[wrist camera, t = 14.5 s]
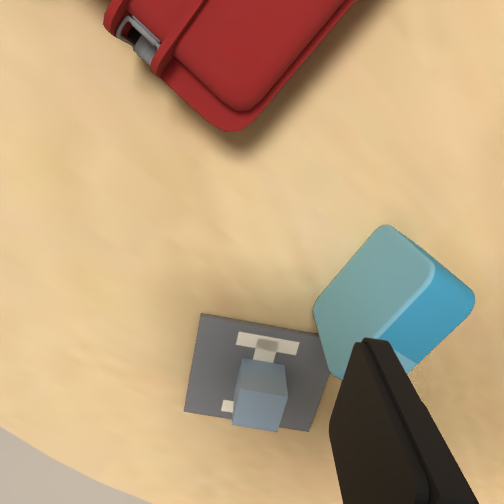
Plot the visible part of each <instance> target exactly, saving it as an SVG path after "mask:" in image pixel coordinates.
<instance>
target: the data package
mask: <svg viewBox="0 0 504 504" xmlns="http://www.w3.org/2000/svg"><path fill="white" fill-rule="evenodd" d="M474 304H475V295H474V293H473V291H472V290H471V289H470V288H469V287H468V286H466V285H465V284H464V283H463V282H462V281H461V280H459V279H458V278H457V277H456V276H455V275H453V274H452V273H451V272H450V271H449V270H447V269H446V268H445V267H444V266H443V265H441V264H440V263H439V262H438V261H437V260H435V259H434V258H433V257H432V256H431V255H429V254H428V253H427V252H426V251H425V250H423V249H422V248H421V247H420V246H418V245H417V244H415V243H414V242H413V241H411V240H410V239H408V238H407V237H406V236H404V235H403V234H401V233H400V232H399V231H397V230H396V229H394V228H393V227H392V226H390V225H383V226H381V227H379V228H378V229H377V230H376V231H374V233H373V234H372V235H371V236H370V237H369V238H368V240H367V241H366V242H365V243H364V244H363V245H362V247H361V248H360V249H359V250H358V251H357V253H356V254H355V255H354V256H353V257H352V258H351V260H350V261H349V262H348V263H347V264H346V265H345V267H344V268H343V269H342V270H341V271H340V273H339V274H338V275H337V276H336V277H335V278H334V280H333V281H332V282H331V283H330V284H329V286H328V287H327V288H326V289H325V290H324V291H323V293H322V294H321V295H320V296H319V297H318V299H317V301H316V302H315V305H314V308H313V315H314V318H315V322H316V326H317V329H318V333H319V336H320V340H321V344H322V347H323V351H324V354H325V358H326V361H327V365H328V369H329V371H330V373H331V374H333V375H334V376H336V377H337V378H339V379H341V380H343V377H344V374H345V371H346V368H347V365H348V361H349V358H350V355H351V352H352V349H353V346H354V344H355V343H356V342H361V341H362V339H363V338H365V337H367V338H374V339H380V340H386V341H388V342H389V343H390V344H391V346H392V348H393V350H394V352H395V354H396V355H397V357H398V359H399V361H400V363H401V365H402V366H403V368H404V370H405V372H406V374H408V373H409V372H410V371H411V370H412V369H413V368H414V367H415V366H416V365H417V364H418V363H419V362H420V361H421V360H422V359H423V358H424V357H425V356H426V355H428V354H429V353H430V352H431V351H432V350H433V349H434V348H435V347H436V346H437V345H438V344H439V343H440V342H441V341H442V340H443V339H444V338H445V337H446V336H447V335H448V334H450V333H451V332H452V331H453V330H454V329H455V328H456V327H457V326H458V325H459V324H460V323H461V322H462V321H463V320H464V319H465V318H466V317H467V316H468V315H469V314H470V313H471V311H472V309H473V307H474Z"/></svg>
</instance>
